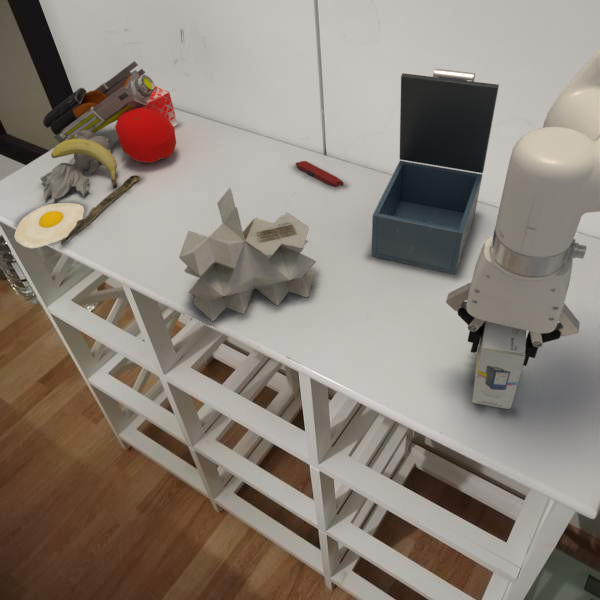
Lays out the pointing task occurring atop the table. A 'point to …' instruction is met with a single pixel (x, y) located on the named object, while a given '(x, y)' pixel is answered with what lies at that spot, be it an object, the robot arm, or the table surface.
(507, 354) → the ink box
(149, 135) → the tomato
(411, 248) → the storage bin
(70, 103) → the toy blaster gun
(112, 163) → the fruit
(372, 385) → the table surface
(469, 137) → the box lid
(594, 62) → the robot arm
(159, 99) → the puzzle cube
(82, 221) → the wooden stick
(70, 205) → the cracked egg
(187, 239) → the white crumpled paper lump
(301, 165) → the utility knife
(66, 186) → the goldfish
